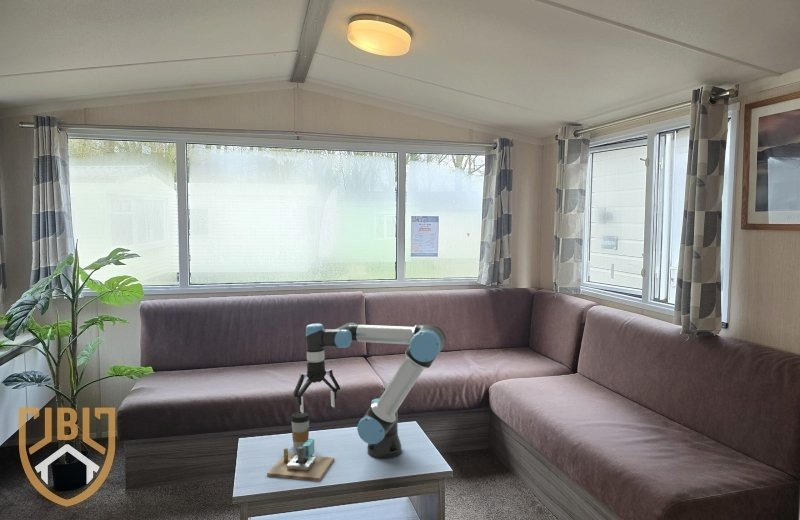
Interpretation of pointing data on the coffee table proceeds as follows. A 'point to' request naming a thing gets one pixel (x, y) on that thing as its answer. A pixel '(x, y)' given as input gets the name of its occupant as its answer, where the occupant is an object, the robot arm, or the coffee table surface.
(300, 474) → the post base
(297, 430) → the coffee cup
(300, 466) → the flange
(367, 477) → the coffee table surface
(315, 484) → the coffee table surface
